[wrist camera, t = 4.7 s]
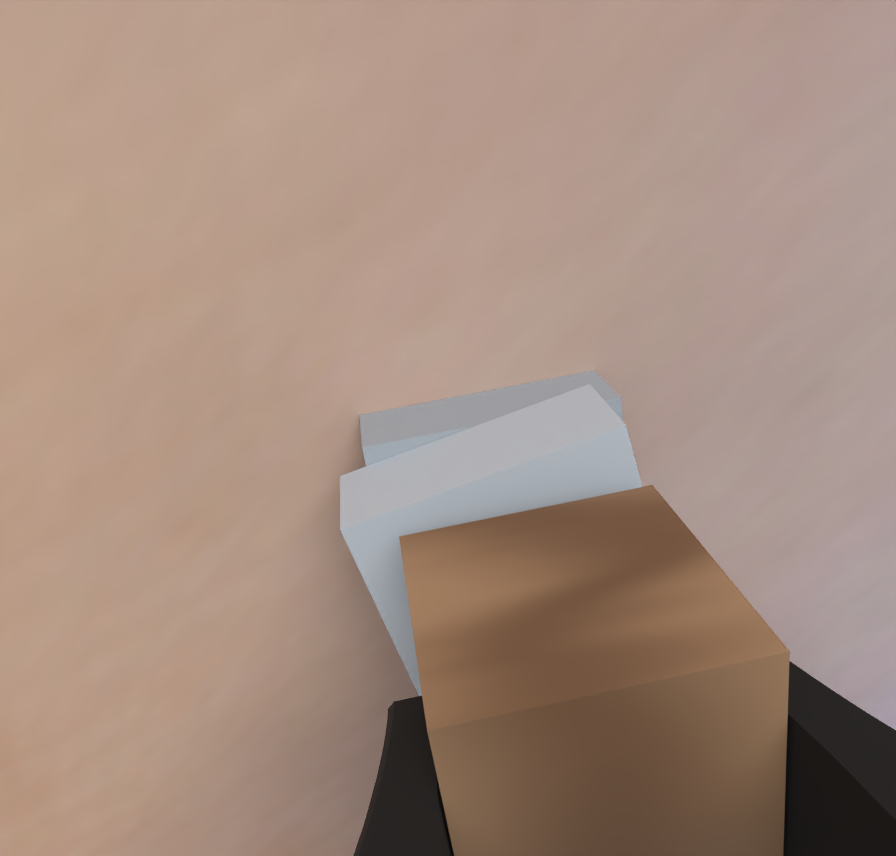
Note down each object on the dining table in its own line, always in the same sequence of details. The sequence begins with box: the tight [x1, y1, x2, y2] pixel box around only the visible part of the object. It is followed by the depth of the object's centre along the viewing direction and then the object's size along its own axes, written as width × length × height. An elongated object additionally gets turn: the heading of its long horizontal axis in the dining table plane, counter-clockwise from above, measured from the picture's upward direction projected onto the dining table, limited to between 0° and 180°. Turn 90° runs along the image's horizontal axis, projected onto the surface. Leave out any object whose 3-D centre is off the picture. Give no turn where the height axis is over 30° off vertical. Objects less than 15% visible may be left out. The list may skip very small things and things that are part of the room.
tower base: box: [359, 370, 623, 466], centre depth 18 cm, size 6×6×2 cm
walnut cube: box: [399, 485, 790, 856], centre depth 12 cm, size 4×4×4 cm
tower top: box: [340, 384, 642, 696], centre depth 16 cm, size 6×6×2 cm
